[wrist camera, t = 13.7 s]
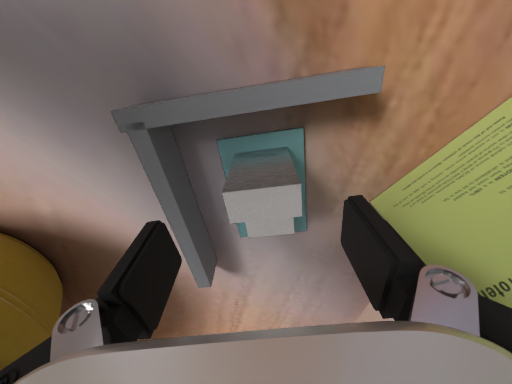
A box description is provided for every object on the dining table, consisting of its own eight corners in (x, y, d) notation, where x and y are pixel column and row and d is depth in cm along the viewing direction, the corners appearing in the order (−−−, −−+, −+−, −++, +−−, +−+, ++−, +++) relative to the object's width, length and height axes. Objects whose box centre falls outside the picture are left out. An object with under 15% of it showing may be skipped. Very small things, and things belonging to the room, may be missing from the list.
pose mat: (240, 234, 25) (240, 237, 25) (217, 139, 19) (216, 140, 19) (305, 228, 24) (306, 230, 24) (302, 127, 18) (303, 128, 18)
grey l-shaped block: (234, 153, 19) (222, 192, 13) (286, 146, 19) (301, 183, 12) (249, 226, 24) (245, 282, 17) (291, 221, 23) (304, 278, 17)
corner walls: (202, 261, 28) (194, 288, 24) (139, 104, 18) (110, 111, 14) (342, 248, 26) (354, 275, 22) (358, 67, 16) (384, 65, 13)
